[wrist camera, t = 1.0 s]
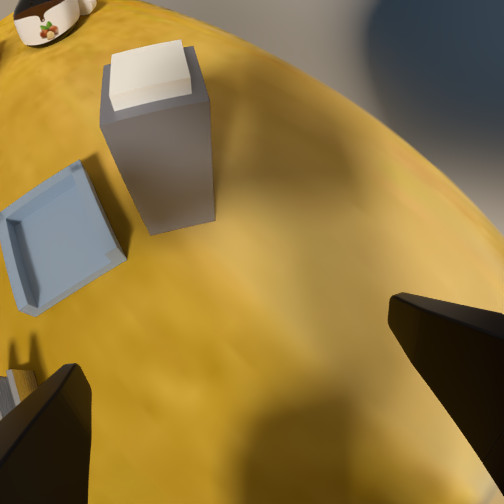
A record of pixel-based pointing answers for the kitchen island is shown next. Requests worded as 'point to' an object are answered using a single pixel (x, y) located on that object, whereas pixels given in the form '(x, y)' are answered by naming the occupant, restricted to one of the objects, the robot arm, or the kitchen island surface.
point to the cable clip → (15, 389)
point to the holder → (56, 240)
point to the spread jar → (48, 19)
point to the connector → (160, 133)
